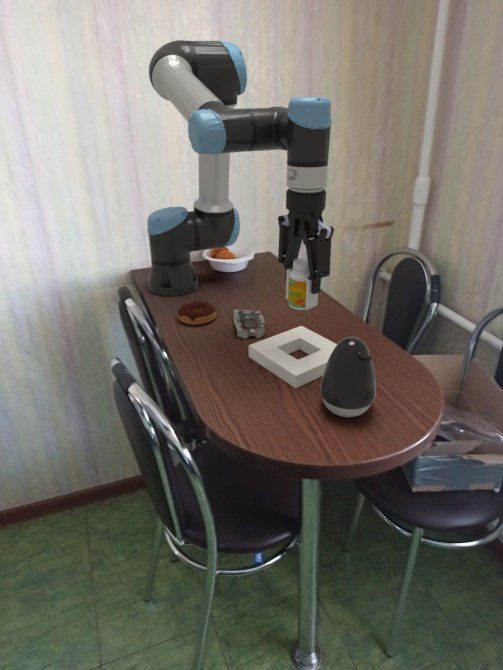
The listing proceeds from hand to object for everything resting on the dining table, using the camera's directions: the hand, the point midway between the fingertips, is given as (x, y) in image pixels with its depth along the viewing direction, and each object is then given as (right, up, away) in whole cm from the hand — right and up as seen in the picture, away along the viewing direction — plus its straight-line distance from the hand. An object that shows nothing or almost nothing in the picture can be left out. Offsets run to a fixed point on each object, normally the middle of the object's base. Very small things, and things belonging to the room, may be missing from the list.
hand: (301, 301), depth 100 cm
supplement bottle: (0, -1, 0) cm, 1 cm away
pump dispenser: (+8, -21, -9) cm, 24 cm away
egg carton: (-11, -6, +21) cm, 24 cm away
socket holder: (0, -13, +7) cm, 14 cm away
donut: (-25, -3, +26) cm, 36 cm away
